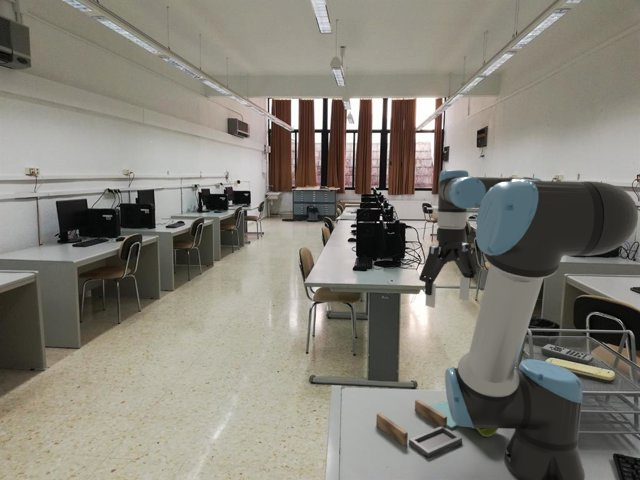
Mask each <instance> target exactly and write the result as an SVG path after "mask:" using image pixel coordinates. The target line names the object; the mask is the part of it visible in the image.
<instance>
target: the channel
mask: <svg viewBox="0 0 640 480" xmlns="http://www.w3.org/2000/svg"><path fill="white" fill-rule="evenodd" d="M430 406H431V405H429V404H427V403H425V402H423V401H421V400H420V399H415V400H414V411H415V412H417V413H418V414H420V415H422V416H423V417H424V418H426V419H427V420H428V421H430V422H431V423H433V424H434V425H436V426H437V427H440V426H442V425H443V426H444V427H446V428H447V429H448V427H447V416H445V415H443V414H442V413H440V412H438V411H437V410H435V409H433V408H432V407H430ZM376 427H378V428H380V429H381V430H382V431H384V433H386V434H388V435H389V436H390V437H391V438H393V439H394V440H396V441H397V442H398V443H399V444H401V446H403V447H405V446H407V445H408V441H409V438H408V431H406V429H403V428H402V427H401V426H399V424H397V423H395V422H394V421H392V420H391V419H390V418H388V417H386V416H385V415H384V414H383V413H381V412H378V413H376Z"/></svg>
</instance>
